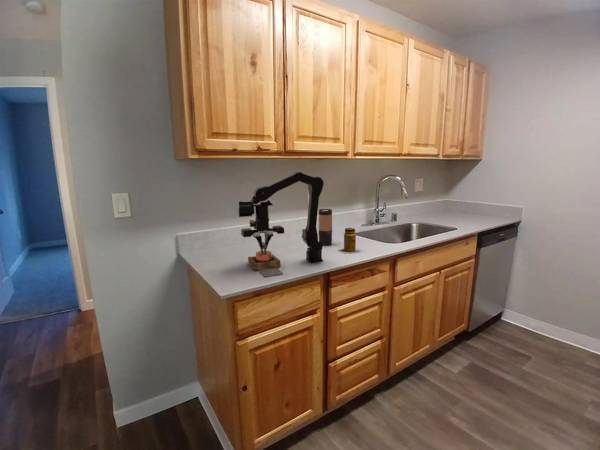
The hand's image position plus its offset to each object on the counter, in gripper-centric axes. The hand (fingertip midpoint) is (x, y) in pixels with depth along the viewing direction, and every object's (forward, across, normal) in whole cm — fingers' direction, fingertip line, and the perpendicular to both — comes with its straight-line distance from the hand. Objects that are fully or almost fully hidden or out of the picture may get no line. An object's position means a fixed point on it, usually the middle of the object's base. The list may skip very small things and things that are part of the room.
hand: (263, 249), depth 142 cm
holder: (+7, 0, 0) cm, 7 cm away
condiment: (+8, -47, -5) cm, 48 cm away
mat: (+7, 0, +11) cm, 13 cm away
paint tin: (+8, 0, 0) cm, 8 cm away
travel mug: (+8, -42, -22) cm, 48 cm away
